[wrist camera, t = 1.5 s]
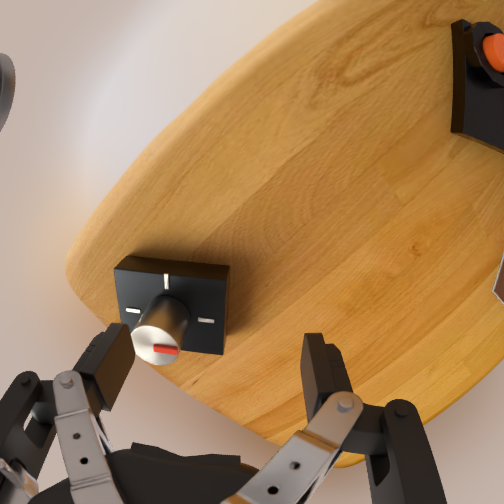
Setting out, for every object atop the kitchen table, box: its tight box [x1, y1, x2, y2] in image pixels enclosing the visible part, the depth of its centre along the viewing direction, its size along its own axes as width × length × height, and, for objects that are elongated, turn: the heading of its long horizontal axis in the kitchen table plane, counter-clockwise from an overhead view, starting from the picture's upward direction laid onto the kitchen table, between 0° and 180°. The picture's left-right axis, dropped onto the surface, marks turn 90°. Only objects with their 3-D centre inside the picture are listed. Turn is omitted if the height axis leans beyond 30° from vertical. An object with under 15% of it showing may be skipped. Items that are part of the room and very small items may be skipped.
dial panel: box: [114, 256, 230, 355], centre depth 27 cm, size 10×8×3 cm
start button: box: [483, 33, 504, 72], centre depth 14 cm, size 4×4×2 cm
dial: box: [131, 296, 190, 365], centre depth 23 cm, size 4×4×5 cm
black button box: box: [451, 19, 504, 154], centre depth 17 cm, size 10×12×4 cm
